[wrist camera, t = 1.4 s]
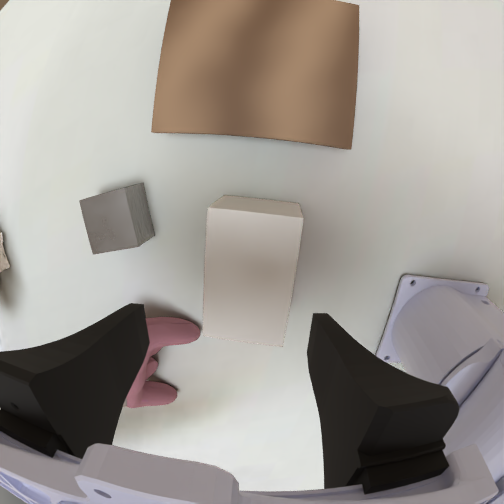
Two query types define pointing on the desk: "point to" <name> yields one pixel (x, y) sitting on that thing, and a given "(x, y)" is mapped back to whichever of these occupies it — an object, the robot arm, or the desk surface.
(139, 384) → the video game controller
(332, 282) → the desk surface
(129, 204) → the grey block
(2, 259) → the crumpled paper
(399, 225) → the desk surface
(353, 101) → the tan curved panel
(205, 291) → the light grey rectangular block
